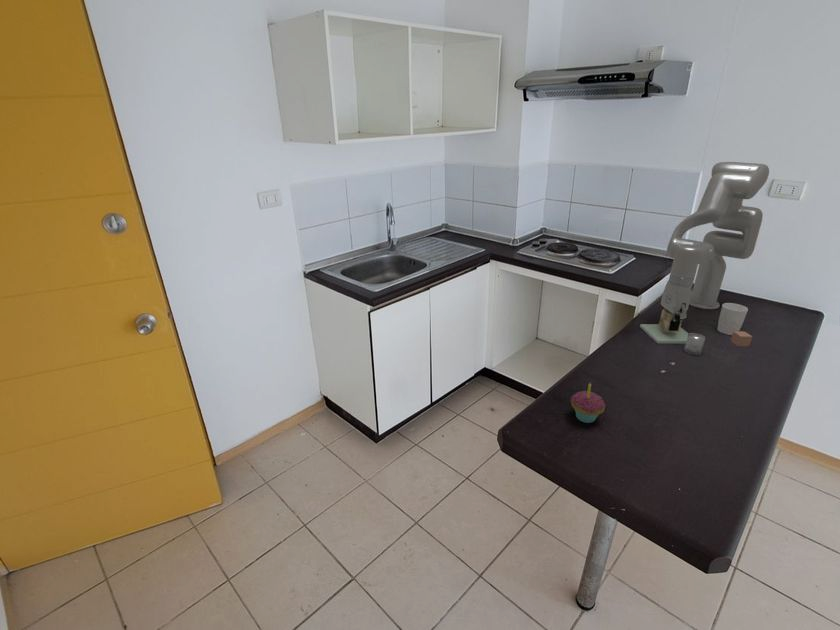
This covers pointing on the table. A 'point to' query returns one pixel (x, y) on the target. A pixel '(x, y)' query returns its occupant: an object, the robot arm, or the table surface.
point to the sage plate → (664, 334)
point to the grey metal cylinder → (694, 343)
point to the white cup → (731, 318)
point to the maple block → (667, 320)
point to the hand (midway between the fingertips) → (669, 326)
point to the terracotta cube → (741, 338)
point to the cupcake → (587, 405)
